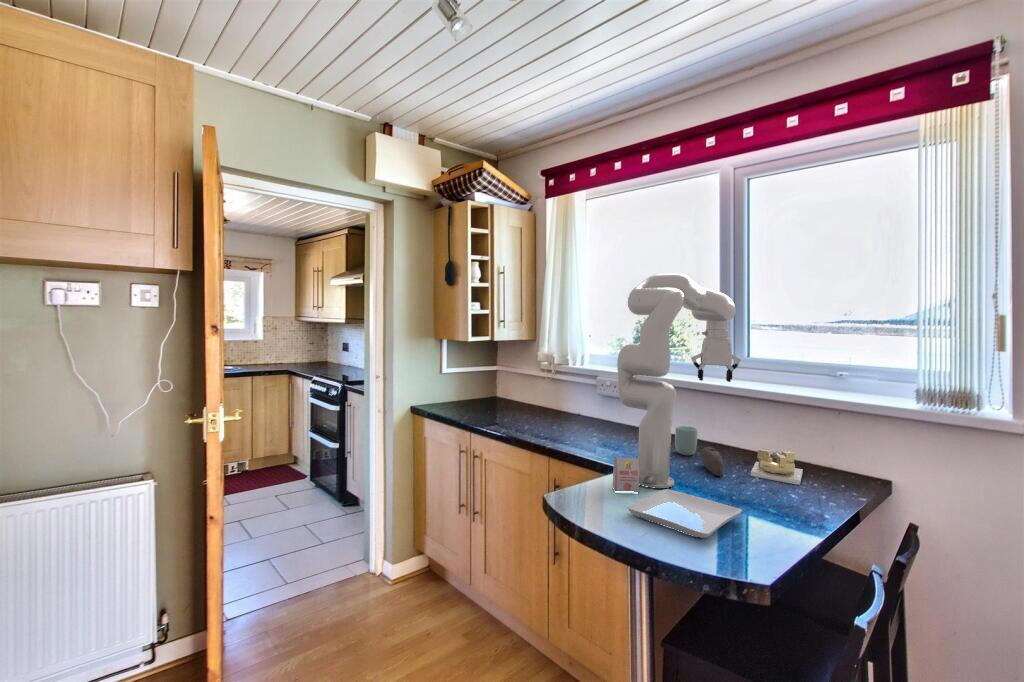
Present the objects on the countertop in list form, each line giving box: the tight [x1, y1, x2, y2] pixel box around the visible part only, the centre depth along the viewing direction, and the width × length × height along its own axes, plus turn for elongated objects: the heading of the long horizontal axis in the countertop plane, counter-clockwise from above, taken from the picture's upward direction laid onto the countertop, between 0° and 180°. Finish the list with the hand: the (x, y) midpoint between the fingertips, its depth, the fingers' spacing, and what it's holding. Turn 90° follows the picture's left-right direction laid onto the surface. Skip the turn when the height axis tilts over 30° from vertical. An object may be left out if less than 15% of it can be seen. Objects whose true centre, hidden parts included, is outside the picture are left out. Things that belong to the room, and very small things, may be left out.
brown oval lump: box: [700, 446, 725, 477], centre depth 162 cm, size 15×5×7 cm, turn 171°
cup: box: [674, 425, 699, 457], centre depth 183 cm, size 8×8×10 cm
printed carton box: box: [612, 456, 640, 493], centre depth 141 cm, size 4×7×10 cm, turn 88°
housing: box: [750, 448, 803, 486], centre depth 161 cm, size 14×14×7 cm
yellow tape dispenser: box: [756, 448, 796, 474], centre depth 161 cm, size 11×11×6 cm
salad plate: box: [626, 488, 743, 539], centre depth 123 cm, size 21×21×3 cm
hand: (714, 380), depth 179 cm, fingers open, 9 cm apart
